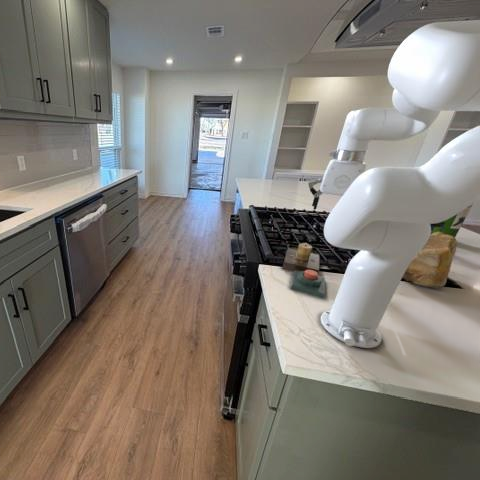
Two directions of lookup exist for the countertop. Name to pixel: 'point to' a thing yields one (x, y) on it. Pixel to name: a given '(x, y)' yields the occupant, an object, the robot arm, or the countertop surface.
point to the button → (310, 274)
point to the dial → (304, 252)
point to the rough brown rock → (432, 261)
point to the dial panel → (300, 262)
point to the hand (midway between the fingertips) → (331, 211)
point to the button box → (308, 284)
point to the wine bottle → (454, 223)
